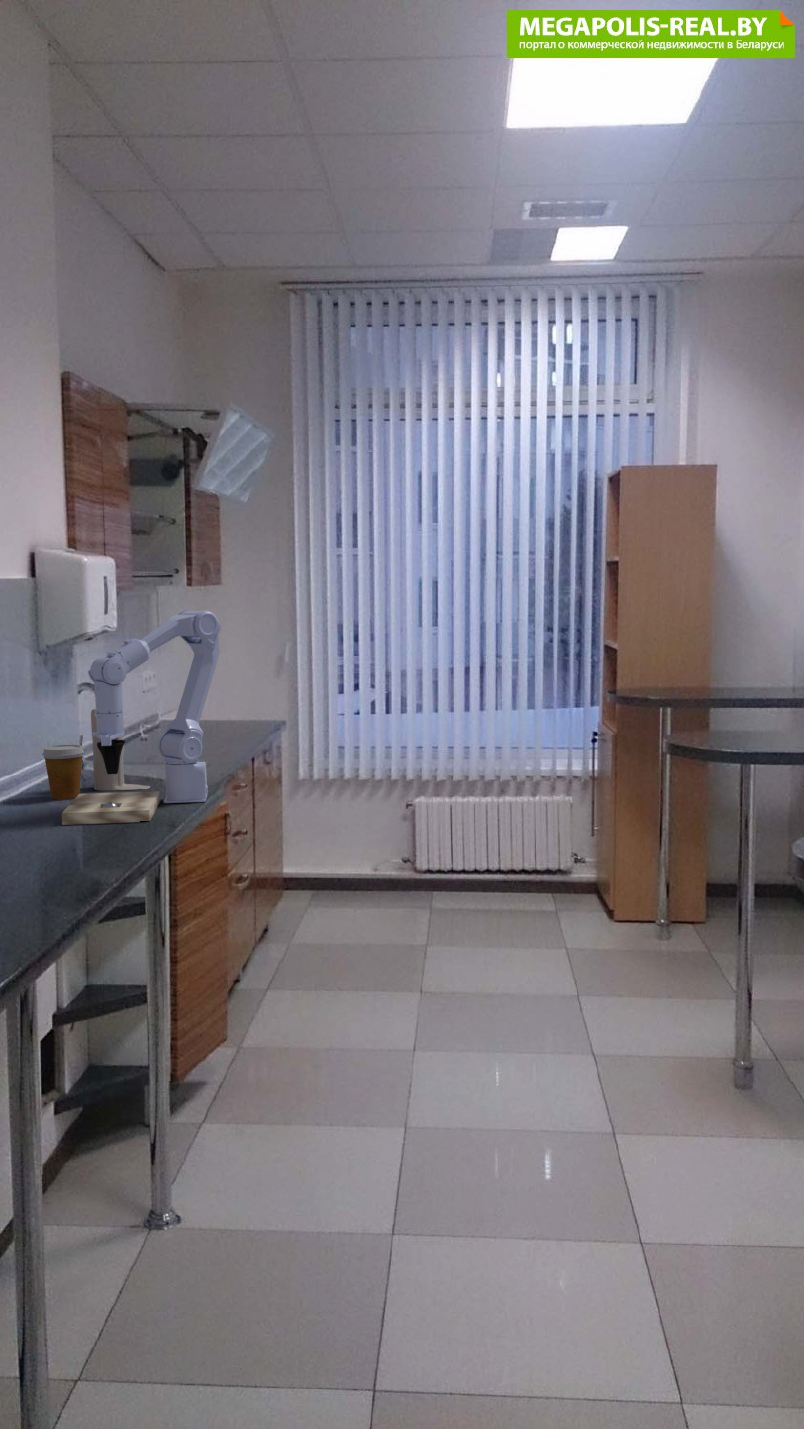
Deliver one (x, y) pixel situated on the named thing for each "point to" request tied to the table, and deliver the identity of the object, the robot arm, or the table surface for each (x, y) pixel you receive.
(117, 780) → the beige bookend
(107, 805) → the steel ball
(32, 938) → the table surface
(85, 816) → the birch plate
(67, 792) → the disposable coffee cup
